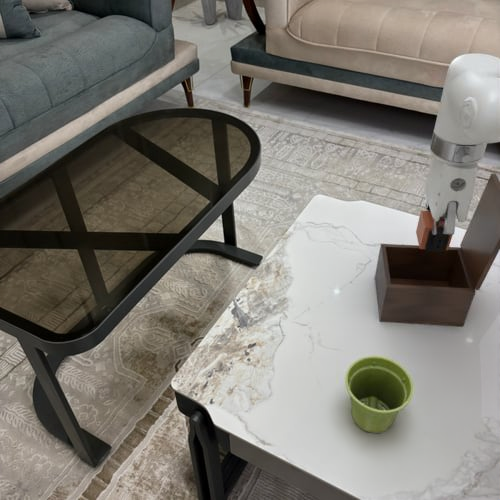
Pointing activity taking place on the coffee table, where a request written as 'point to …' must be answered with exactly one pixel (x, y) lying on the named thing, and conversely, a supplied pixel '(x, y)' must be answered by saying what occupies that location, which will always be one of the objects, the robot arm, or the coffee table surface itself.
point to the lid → (483, 234)
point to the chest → (423, 285)
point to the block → (427, 228)
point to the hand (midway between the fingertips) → (432, 239)
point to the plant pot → (377, 391)
